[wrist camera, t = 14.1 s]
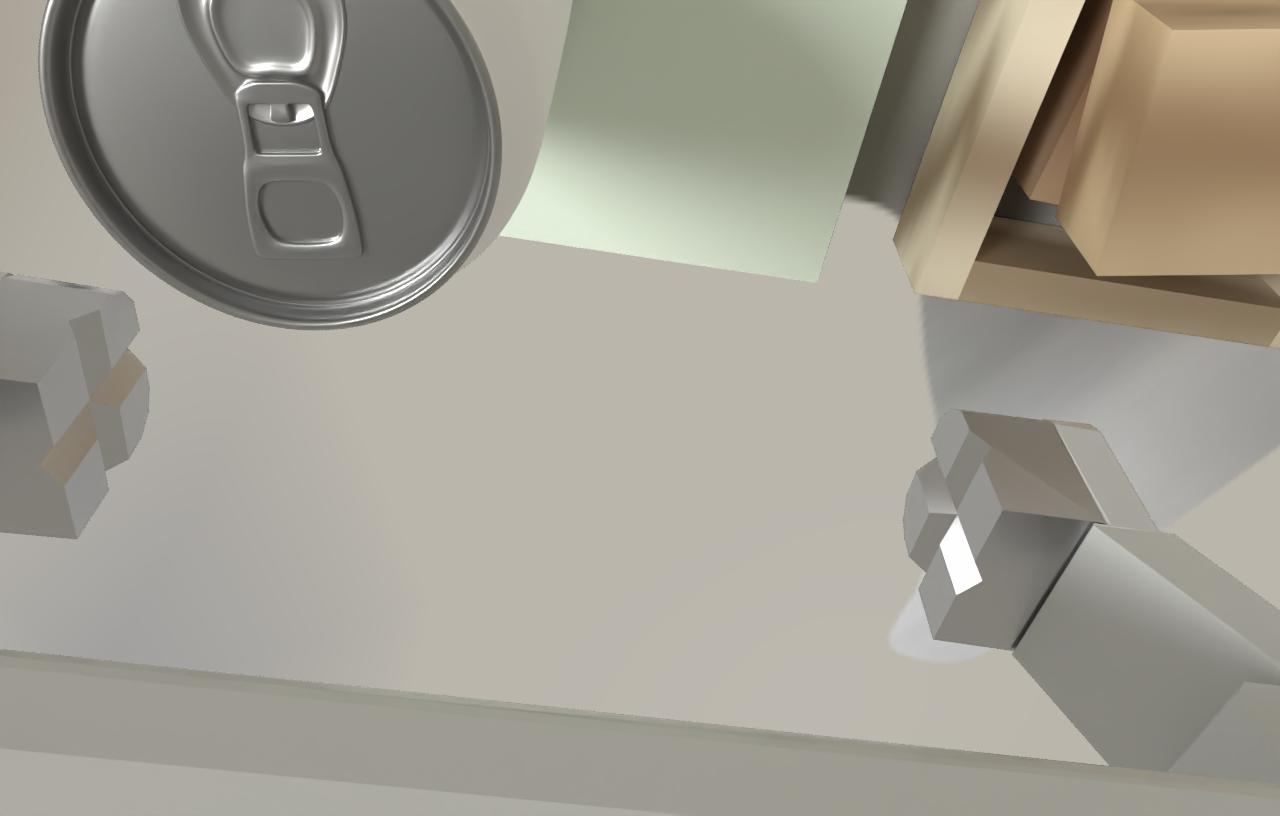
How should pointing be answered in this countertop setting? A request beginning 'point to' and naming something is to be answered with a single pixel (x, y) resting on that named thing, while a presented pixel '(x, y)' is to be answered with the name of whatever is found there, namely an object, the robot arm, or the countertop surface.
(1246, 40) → the offcut upper
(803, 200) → the board
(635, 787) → the robot arm
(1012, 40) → the rack
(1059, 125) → the offcut lower
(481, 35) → the can
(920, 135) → the countertop surface
